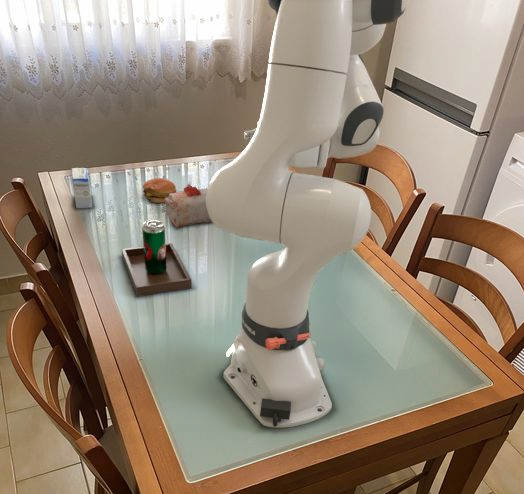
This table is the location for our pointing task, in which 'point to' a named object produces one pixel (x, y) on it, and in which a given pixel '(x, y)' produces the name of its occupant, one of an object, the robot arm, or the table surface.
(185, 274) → the tray
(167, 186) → the burger
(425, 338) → the table surface
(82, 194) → the medicine box
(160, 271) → the soda can
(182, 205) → the food item
